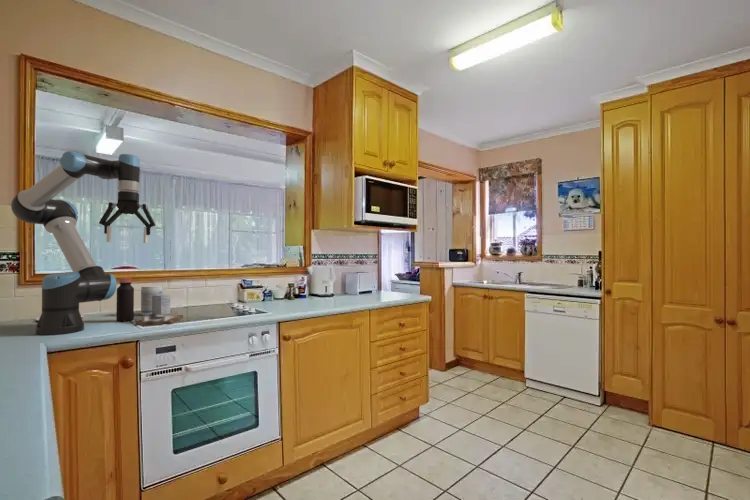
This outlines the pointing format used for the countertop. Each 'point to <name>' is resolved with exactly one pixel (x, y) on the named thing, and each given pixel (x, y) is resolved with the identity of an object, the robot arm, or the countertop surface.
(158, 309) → the medicine box
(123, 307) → the bottle
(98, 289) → the robot arm
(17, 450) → the countertop surface
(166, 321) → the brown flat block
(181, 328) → the countertop surface
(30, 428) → the countertop surface
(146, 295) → the supplement tub
